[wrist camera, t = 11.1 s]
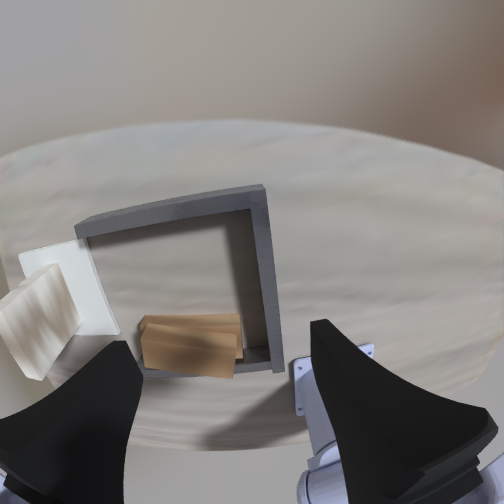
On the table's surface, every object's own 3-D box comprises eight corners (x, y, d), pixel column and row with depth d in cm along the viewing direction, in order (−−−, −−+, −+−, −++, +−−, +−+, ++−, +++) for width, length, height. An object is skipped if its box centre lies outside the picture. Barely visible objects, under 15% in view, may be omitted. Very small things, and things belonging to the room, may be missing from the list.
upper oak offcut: (233, 361, 21) (233, 378, 19) (150, 350, 21) (144, 366, 19) (236, 333, 20) (236, 351, 18) (147, 323, 19) (140, 338, 18)
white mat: (120, 331, 22) (118, 334, 21) (54, 332, 22) (52, 334, 21) (85, 237, 18) (82, 239, 18) (20, 252, 18) (17, 254, 18)
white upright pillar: (82, 321, 21) (41, 380, 13) (67, 322, 21) (27, 377, 13) (58, 262, 18) (1, 311, 11) (43, 264, 18) (-12, 311, 11)
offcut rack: (281, 352, 23) (284, 371, 21) (144, 363, 23) (138, 381, 21) (261, 184, 18) (265, 189, 15) (90, 216, 18) (73, 225, 15)
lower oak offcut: (242, 342, 23) (242, 358, 21) (155, 343, 23) (150, 358, 21) (239, 310, 22) (240, 324, 20) (146, 312, 21) (139, 326, 20)
